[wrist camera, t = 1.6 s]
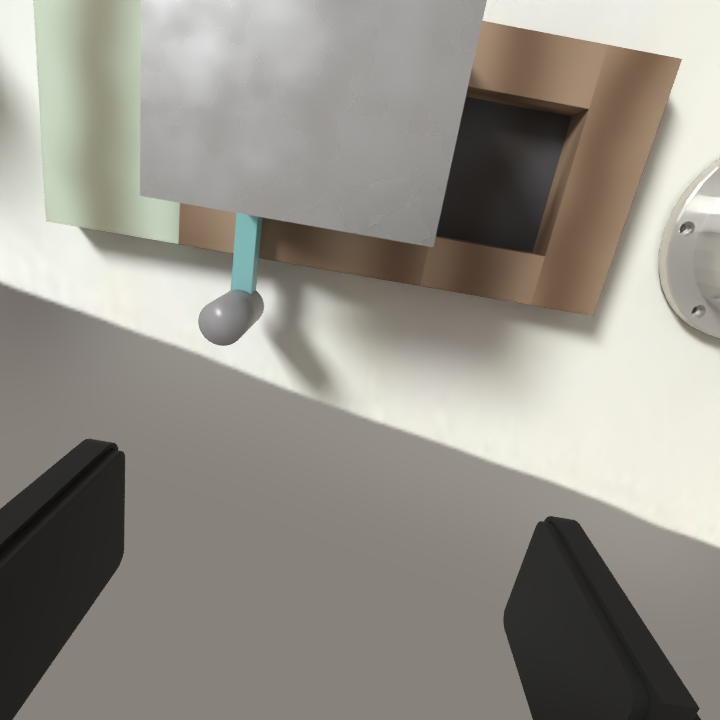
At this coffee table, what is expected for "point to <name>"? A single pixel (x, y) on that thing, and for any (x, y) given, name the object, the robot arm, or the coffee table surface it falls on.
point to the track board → (466, 177)
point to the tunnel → (307, 108)
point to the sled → (237, 288)
